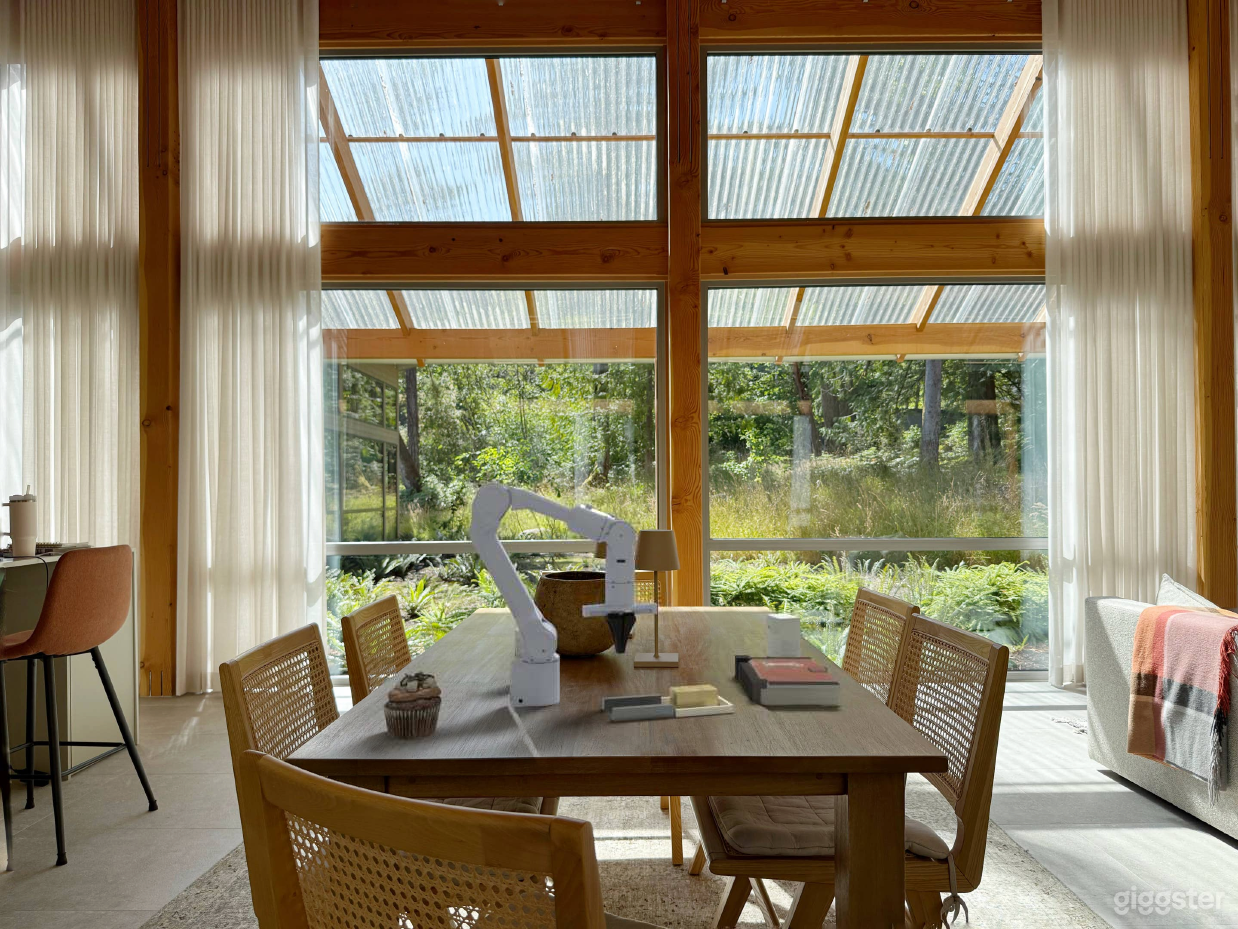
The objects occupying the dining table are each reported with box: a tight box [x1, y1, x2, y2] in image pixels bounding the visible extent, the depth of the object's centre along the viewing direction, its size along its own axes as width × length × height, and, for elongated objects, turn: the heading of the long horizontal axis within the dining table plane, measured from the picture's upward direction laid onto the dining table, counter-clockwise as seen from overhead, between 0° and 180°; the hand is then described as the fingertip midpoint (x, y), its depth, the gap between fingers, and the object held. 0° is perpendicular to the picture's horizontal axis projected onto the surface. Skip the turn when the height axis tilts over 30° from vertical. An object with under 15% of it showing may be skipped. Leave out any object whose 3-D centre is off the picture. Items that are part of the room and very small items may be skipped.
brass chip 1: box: [669, 685, 698, 712], centre depth 150 cm, size 4×4×4 cm
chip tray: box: [661, 695, 735, 718], centre depth 150 cm, size 11×9×2 cm
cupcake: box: [382, 670, 442, 740], centre depth 139 cm, size 10×10×10 cm
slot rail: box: [601, 693, 675, 722], centre depth 148 cm, size 11×8×3 cm
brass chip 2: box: [690, 684, 719, 707], centre depth 151 cm, size 4×4×4 cm
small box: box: [765, 613, 802, 657], centre depth 200 cm, size 8×6×10 cm
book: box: [734, 654, 842, 708], centre depth 168 cm, size 26×18×5 cm
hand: (620, 652), depth 157 cm, fingers closed
